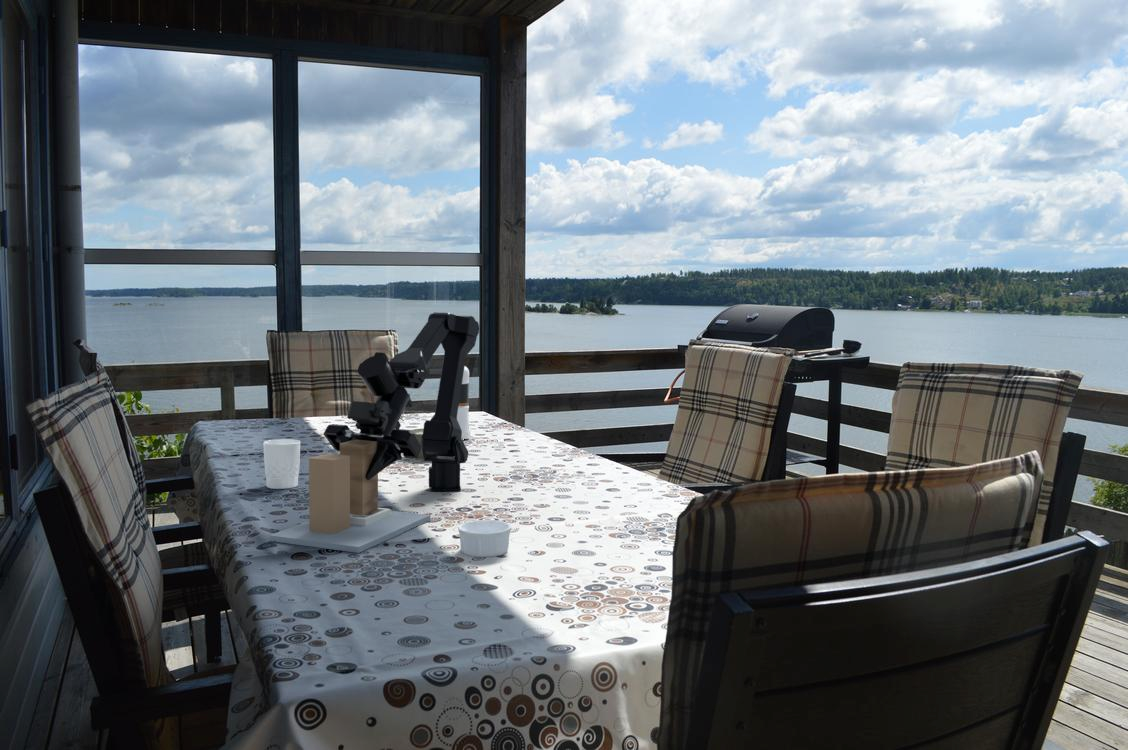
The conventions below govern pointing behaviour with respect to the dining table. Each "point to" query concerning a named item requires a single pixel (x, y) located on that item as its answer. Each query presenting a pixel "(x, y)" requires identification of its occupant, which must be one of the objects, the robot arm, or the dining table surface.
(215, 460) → the dining table surface
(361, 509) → the walnut pillar
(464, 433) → the vodka
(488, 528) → the ramekin
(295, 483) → the white cup
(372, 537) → the baseplate
